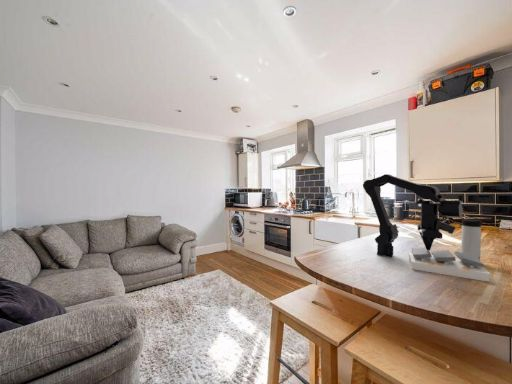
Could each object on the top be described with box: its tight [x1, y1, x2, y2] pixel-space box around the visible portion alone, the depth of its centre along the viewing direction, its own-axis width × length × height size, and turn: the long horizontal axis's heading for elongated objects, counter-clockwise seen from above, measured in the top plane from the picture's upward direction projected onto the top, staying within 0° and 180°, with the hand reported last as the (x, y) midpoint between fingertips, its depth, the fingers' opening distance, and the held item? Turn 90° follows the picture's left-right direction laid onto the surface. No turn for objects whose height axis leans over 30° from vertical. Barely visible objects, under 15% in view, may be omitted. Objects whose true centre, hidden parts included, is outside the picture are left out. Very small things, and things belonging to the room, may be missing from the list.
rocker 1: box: [410, 247, 433, 258], centre depth 95 cm, size 6×11×1 cm, turn 148°
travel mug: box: [460, 218, 482, 262], centre depth 98 cm, size 6×7×20 cm
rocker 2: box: [430, 249, 457, 261], centre depth 91 cm, size 6×11×1 cm, turn 148°
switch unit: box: [408, 252, 491, 282], centre depth 90 cm, size 23×15×4 cm, turn 58°
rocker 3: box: [453, 250, 485, 268], centre depth 87 cm, size 6×11×1 cm, turn 149°
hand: (428, 250), depth 94 cm, fingers closed
